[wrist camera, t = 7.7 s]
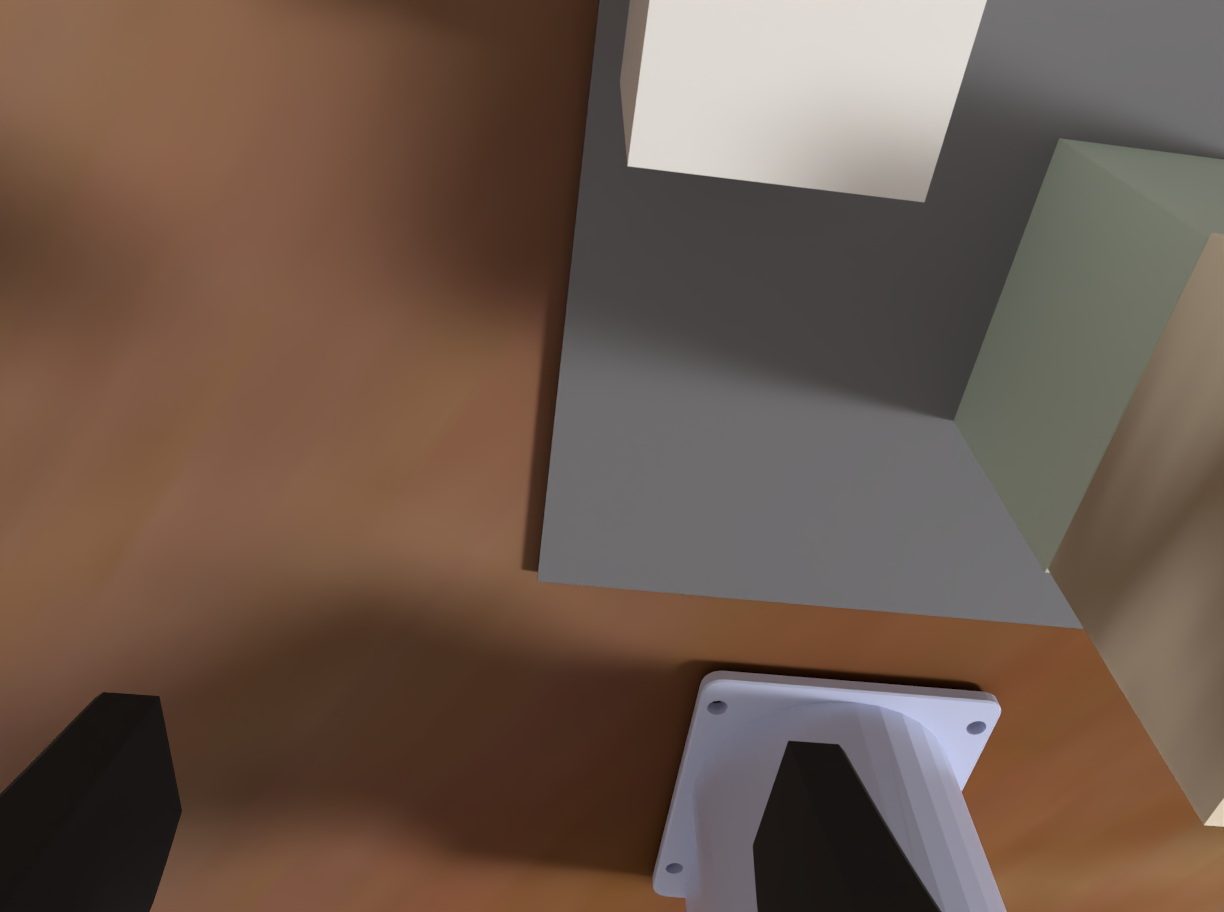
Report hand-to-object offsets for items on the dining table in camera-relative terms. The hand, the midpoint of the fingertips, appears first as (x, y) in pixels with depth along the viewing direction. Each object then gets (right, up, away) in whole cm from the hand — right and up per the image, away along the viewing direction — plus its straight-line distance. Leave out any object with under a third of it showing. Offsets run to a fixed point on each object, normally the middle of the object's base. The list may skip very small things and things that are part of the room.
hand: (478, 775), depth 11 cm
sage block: (+11, +7, +8) cm, 15 cm away
